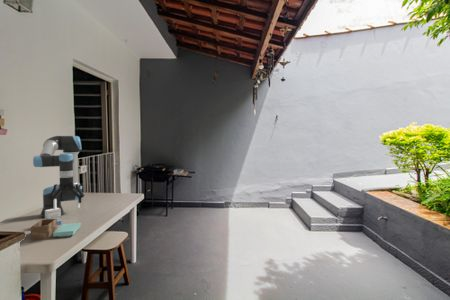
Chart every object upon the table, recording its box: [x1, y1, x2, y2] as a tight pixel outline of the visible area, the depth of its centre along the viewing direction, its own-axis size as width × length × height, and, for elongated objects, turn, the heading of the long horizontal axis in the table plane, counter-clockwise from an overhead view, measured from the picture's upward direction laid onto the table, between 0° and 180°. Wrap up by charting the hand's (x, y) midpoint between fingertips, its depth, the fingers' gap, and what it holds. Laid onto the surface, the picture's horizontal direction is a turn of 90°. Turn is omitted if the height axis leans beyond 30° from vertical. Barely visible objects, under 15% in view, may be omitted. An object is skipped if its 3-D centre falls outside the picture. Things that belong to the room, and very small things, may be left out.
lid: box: [52, 222, 82, 238], centre depth 157 cm, size 15×11×4 cm
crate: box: [30, 218, 58, 241], centre depth 154 cm, size 14×9×8 cm, turn 15°
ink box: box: [44, 208, 62, 226], centre depth 171 cm, size 9×5×12 cm, turn 141°
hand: (67, 208), depth 157 cm, fingers open, 13 cm apart
